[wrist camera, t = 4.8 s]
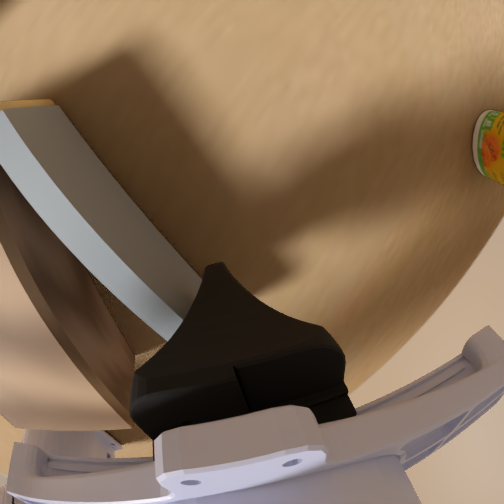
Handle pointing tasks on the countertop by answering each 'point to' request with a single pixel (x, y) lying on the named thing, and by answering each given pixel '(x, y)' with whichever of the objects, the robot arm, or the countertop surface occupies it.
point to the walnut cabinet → (55, 332)
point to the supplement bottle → (490, 145)
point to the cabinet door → (94, 214)
